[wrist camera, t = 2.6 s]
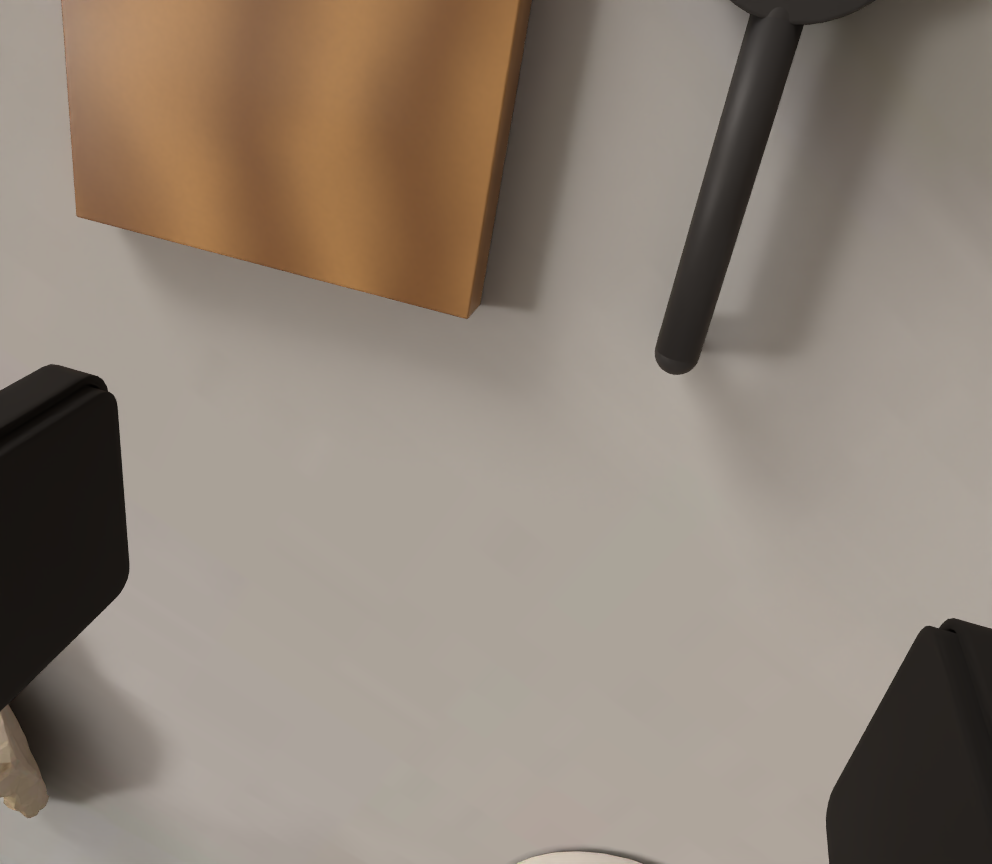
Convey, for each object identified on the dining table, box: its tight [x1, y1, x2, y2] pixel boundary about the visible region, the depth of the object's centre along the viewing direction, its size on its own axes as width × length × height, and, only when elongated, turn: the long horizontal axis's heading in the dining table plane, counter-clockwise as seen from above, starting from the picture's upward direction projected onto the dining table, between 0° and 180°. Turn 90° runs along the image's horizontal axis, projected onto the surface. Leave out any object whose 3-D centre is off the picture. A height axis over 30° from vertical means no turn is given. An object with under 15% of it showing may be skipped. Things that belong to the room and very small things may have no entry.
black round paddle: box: [655, 0, 875, 375], centre depth 22 cm, size 15×6×3 cm, turn 171°
